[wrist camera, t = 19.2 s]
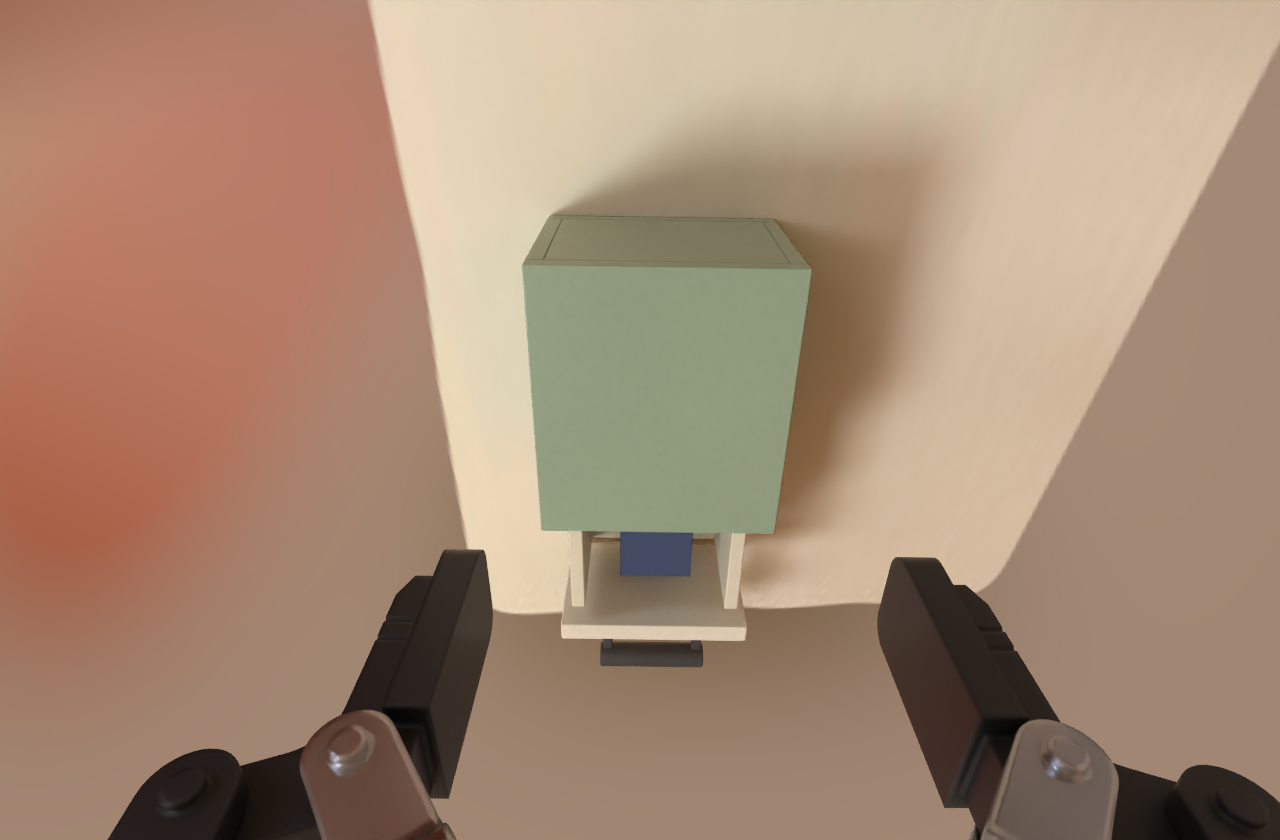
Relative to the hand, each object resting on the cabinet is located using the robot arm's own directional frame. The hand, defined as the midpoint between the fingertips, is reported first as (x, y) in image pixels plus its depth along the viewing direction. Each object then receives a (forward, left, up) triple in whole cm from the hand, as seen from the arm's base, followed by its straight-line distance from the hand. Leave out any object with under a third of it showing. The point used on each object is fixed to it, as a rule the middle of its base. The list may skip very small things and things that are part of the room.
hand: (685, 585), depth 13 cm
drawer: (+6, +18, -27) cm, 33 cm away
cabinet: (+2, +6, -28) cm, 29 cm away
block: (+6, +17, -26) cm, 31 cm away
